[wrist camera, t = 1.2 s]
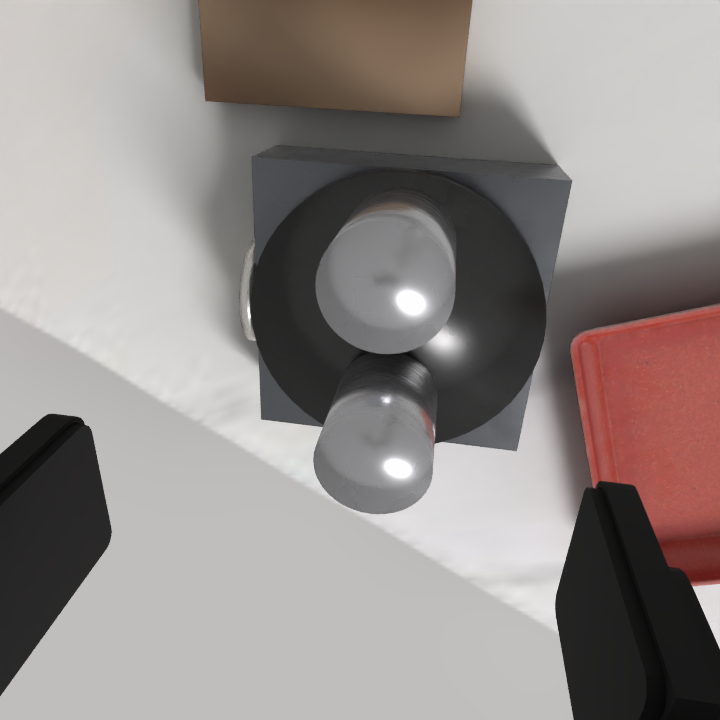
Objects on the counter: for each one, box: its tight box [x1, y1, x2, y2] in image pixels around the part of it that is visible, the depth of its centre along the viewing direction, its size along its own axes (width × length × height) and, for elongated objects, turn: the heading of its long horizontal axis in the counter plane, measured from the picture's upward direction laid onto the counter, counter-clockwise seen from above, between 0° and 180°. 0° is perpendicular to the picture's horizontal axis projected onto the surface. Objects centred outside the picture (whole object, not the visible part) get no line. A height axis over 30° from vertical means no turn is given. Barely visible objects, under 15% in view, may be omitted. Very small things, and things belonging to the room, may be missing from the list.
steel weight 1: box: [315, 187, 456, 354], centre depth 24 cm, size 5×5×6 cm
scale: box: [239, 145, 572, 451], centre depth 31 cm, size 14×15×6 cm
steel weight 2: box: [313, 352, 438, 514], centre depth 27 cm, size 5×5×6 cm
